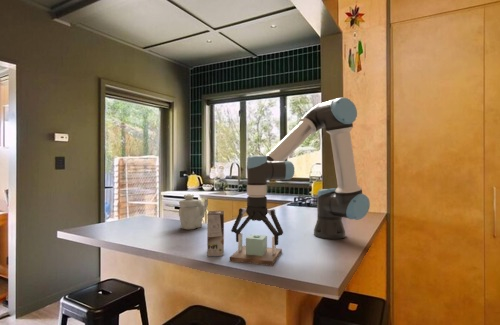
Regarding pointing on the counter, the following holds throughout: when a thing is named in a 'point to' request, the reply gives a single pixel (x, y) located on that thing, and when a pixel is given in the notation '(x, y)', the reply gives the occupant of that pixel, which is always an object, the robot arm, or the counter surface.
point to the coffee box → (215, 233)
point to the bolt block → (256, 257)
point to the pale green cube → (256, 245)
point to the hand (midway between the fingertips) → (256, 252)
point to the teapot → (192, 212)
